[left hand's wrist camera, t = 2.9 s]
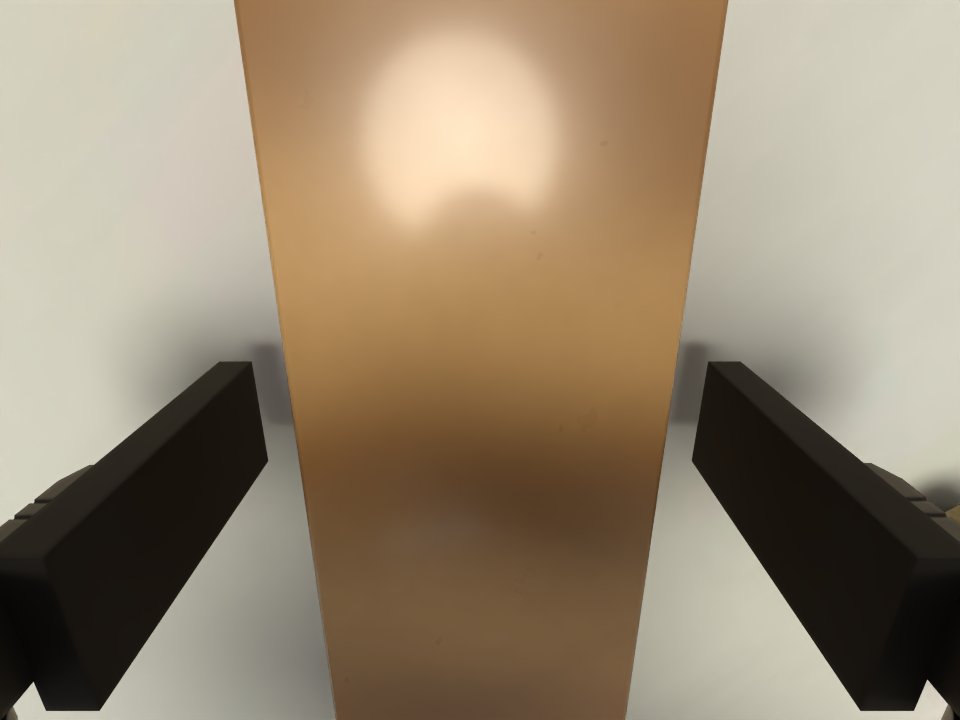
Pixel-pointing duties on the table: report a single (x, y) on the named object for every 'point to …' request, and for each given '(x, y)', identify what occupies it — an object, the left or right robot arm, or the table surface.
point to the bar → (480, 328)
